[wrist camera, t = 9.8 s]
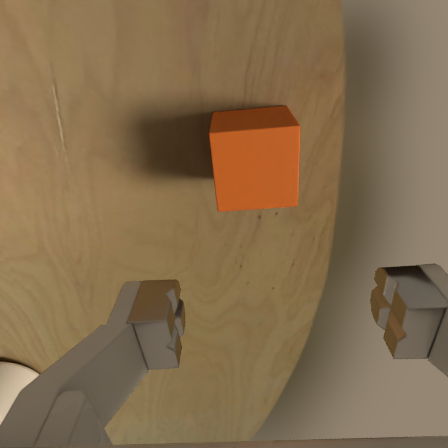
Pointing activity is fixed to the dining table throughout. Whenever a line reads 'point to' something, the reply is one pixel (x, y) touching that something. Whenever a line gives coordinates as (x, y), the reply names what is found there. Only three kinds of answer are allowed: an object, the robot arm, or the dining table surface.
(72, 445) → the robot arm
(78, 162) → the dining table surface
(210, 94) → the dining table surface
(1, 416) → the beverage can
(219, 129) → the block
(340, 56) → the dining table surface
